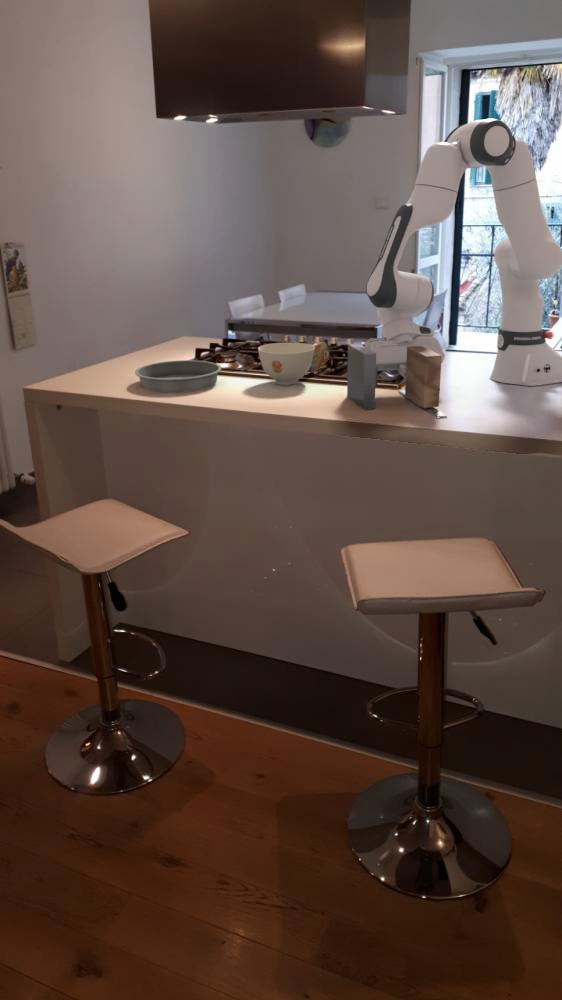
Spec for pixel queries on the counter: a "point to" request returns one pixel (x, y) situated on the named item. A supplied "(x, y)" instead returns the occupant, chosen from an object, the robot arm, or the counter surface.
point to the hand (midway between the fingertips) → (411, 381)
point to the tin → (319, 356)
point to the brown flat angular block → (423, 376)
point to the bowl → (286, 361)
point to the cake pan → (178, 375)
